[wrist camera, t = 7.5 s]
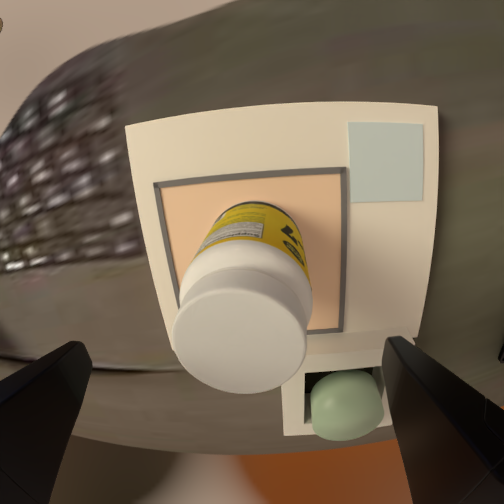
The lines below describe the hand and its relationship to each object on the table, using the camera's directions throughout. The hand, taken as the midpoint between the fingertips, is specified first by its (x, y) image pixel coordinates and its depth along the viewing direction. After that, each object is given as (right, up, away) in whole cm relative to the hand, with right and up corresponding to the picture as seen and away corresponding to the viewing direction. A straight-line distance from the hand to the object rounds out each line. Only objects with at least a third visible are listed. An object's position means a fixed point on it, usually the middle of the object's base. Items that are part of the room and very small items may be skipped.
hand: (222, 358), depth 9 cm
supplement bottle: (+1, +3, +8) cm, 9 cm away
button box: (+7, -5, +13) cm, 15 cm away
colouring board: (+3, +4, +9) cm, 10 cm away
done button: (+7, -6, +10) cm, 14 cm away
